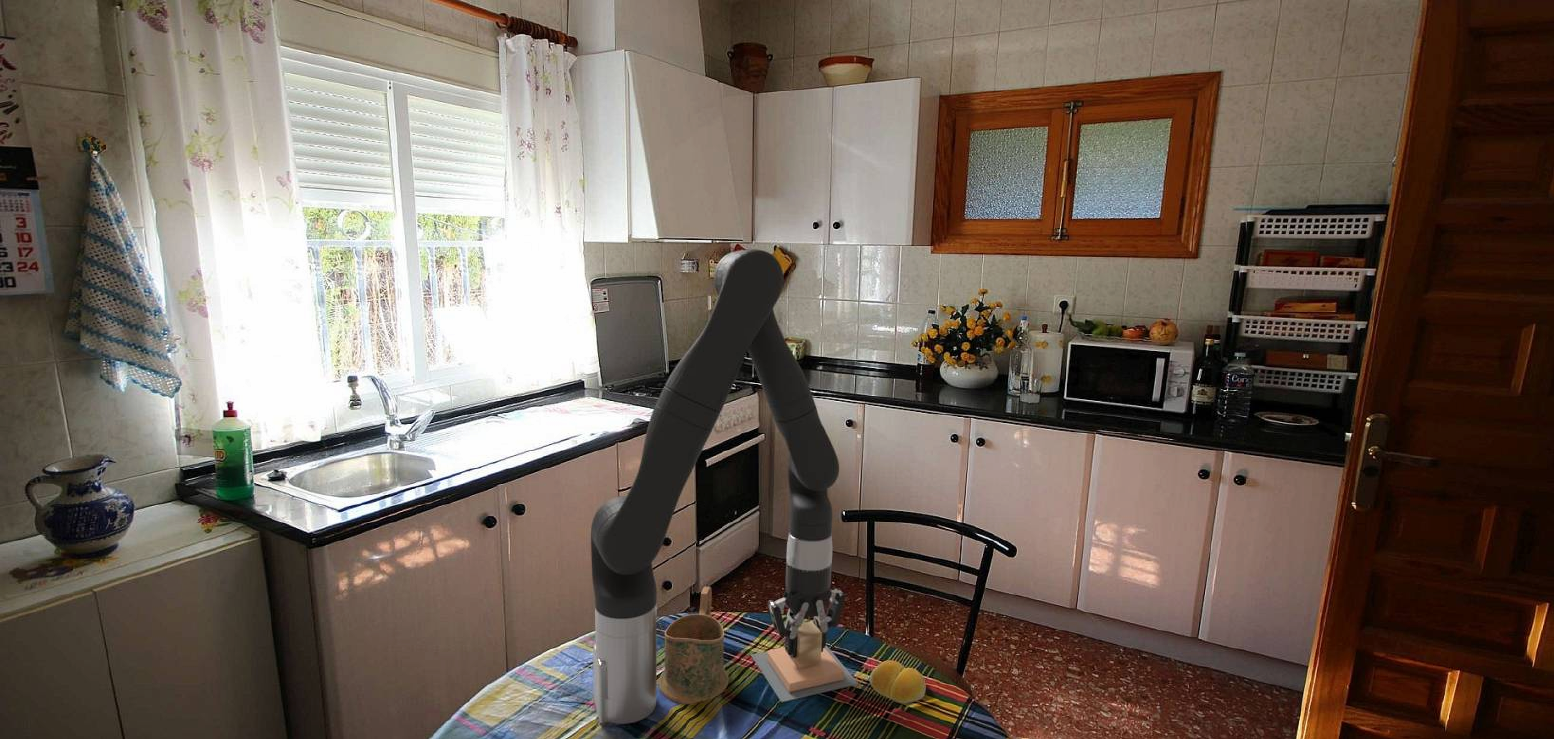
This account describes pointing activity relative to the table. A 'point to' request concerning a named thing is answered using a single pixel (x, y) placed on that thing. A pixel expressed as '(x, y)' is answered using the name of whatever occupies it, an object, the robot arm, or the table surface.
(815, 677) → the tile
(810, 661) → the block
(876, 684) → the bread roll
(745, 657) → the table surface
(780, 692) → the mat
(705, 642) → the mug
